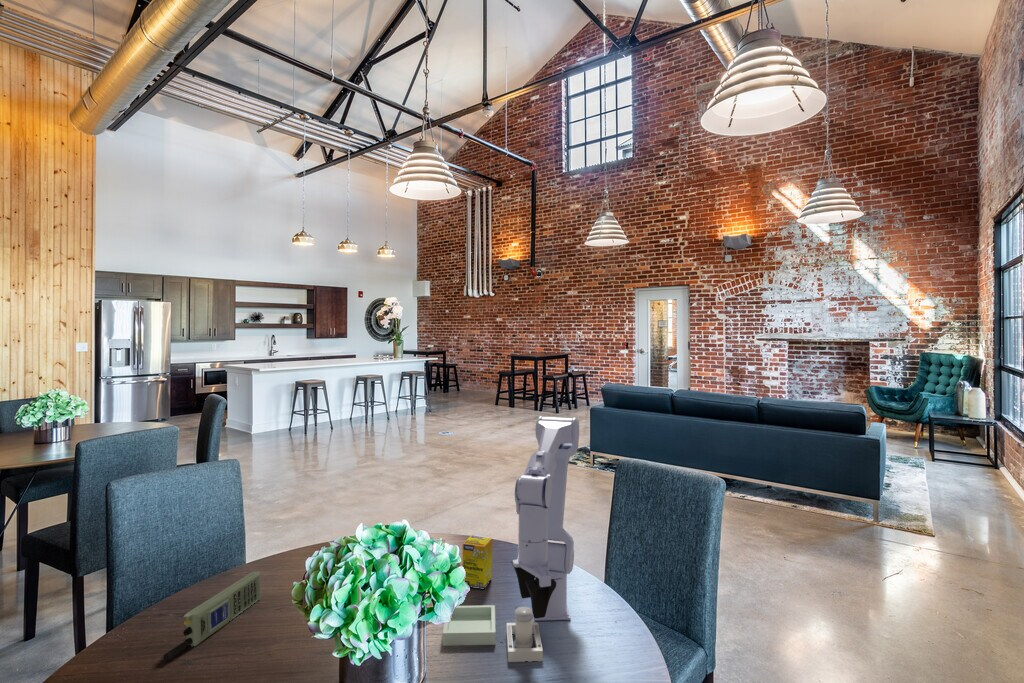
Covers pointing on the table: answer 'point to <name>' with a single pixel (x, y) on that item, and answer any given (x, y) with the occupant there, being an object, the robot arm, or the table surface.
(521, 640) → the cylinder
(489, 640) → the parts tray
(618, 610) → the table surface
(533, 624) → the holder
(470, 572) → the supplement box
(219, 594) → the handheld radio
